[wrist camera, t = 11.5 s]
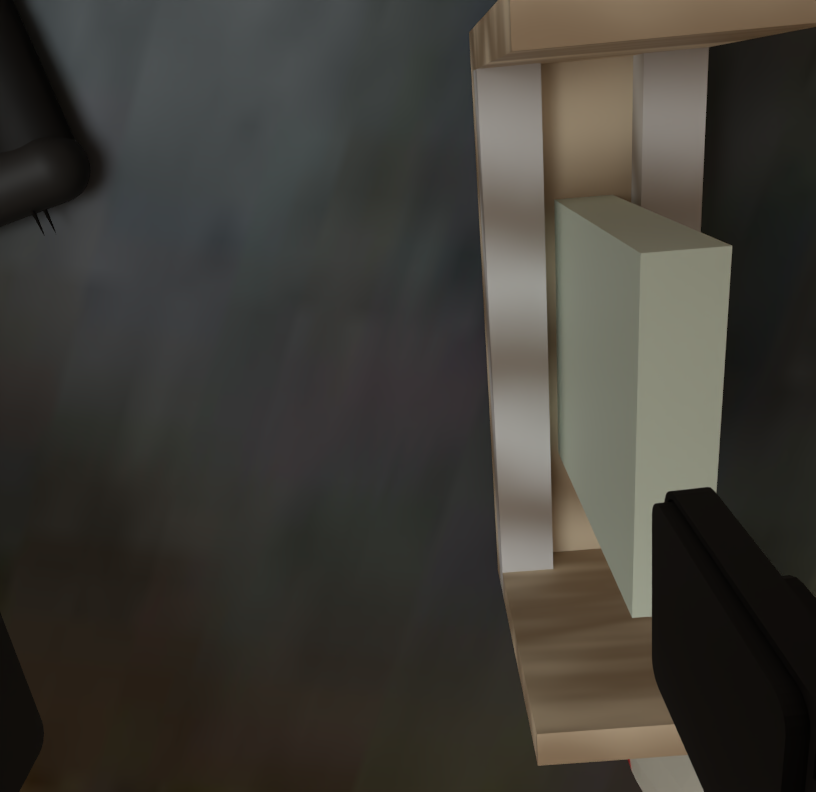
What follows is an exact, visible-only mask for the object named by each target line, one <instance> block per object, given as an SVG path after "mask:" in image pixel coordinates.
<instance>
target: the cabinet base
mask: <svg viewBox="0 0 816 792" xmlns="http://www.w3.org/2000/svg"><path fill="white" fill-rule="evenodd" d="M812 27H816V0H498V1H497V2H496V3H495V4H494V5H493V7H492V8H491V9H490V10H489V11H488V12H487V13H486V14H485V15H484V16H483V18H482V19H481V20H480V21H479V22H478V23H477V24H476V25H475V26H474V28H473V29H472V30H471V31H470V32H469V39H470V57H471V76H472V94H473V113H474V131H475V150H476V169H477V187H478V206H479V224H480V243H481V261H482V280H483V299H484V317H485V336H486V354H487V373H488V391H489V410H490V429H491V447H492V466H493V484H494V503H495V521H496V540H497V559H498V572H499V577H500V582H501V587H502V592H503V597H504V602H505V607H506V611H507V616H508V621H509V626H510V631H511V636H512V641H513V646H514V651H515V655H516V660H517V665H518V670H519V675H520V680H521V685H522V690H523V695H524V700H525V704H526V709H527V714H528V719H529V724H530V729H531V734H532V739H533V744H534V748H535V753H536V758H537V763H538V766H540V765H554V764H568V763H582V762H596V761H610V760H624V759H638V758H652V757H666V756H680V755H688V754H687V752H686V750H685V748H684V745H683V743H682V741H681V738H680V736H679V734H678V732H677V729H676V727H675V725H674V722H673V720H672V718H671V716H670V713H669V711H668V709H667V707H666V704H665V702H664V700H663V697H662V695H661V693H660V691H659V688H658V686H657V683H656V680H655V676H654V671H653V665H652V617H638V618H632V617H631V614H630V612H629V610H628V608H627V605H626V603H625V601H624V599H623V596H622V594H621V592H620V590H619V588H618V585H617V583H616V581H615V579H614V576H613V574H612V572H611V570H610V567H609V565H608V563H607V561H606V558H605V556H604V554H603V552H602V549H601V547H600V545H599V543H598V541H597V538H596V536H595V534H594V532H593V529H592V527H591V525H590V523H589V520H588V518H587V516H586V514H585V511H584V509H583V507H582V505H581V502H580V500H579V498H578V496H577V494H576V491H575V489H574V487H573V485H572V482H571V480H570V478H569V476H568V473H567V471H566V469H565V467H564V464H563V462H562V460H561V458H560V455H559V453H558V409H557V342H556V275H555V207H554V200H555V199H567V198H579V197H591V196H603V195H614V196H617V197H619V198H621V199H624V200H626V201H628V202H631V203H633V204H636V205H638V206H640V207H643V208H645V209H647V210H650V211H652V212H654V213H657V214H659V215H661V216H664V217H666V218H668V219H671V220H673V221H675V222H678V223H680V224H682V225H685V226H687V227H689V228H692V229H694V230H696V231H699V232H701V213H702V191H703V168H704V146H705V123H706V101H707V79H708V56H709V47H712V46H718V45H723V44H728V43H733V42H739V41H744V40H749V39H754V38H760V37H765V36H770V35H775V34H781V33H786V32H791V31H796V30H802V29H807V28H812Z"/></svg>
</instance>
